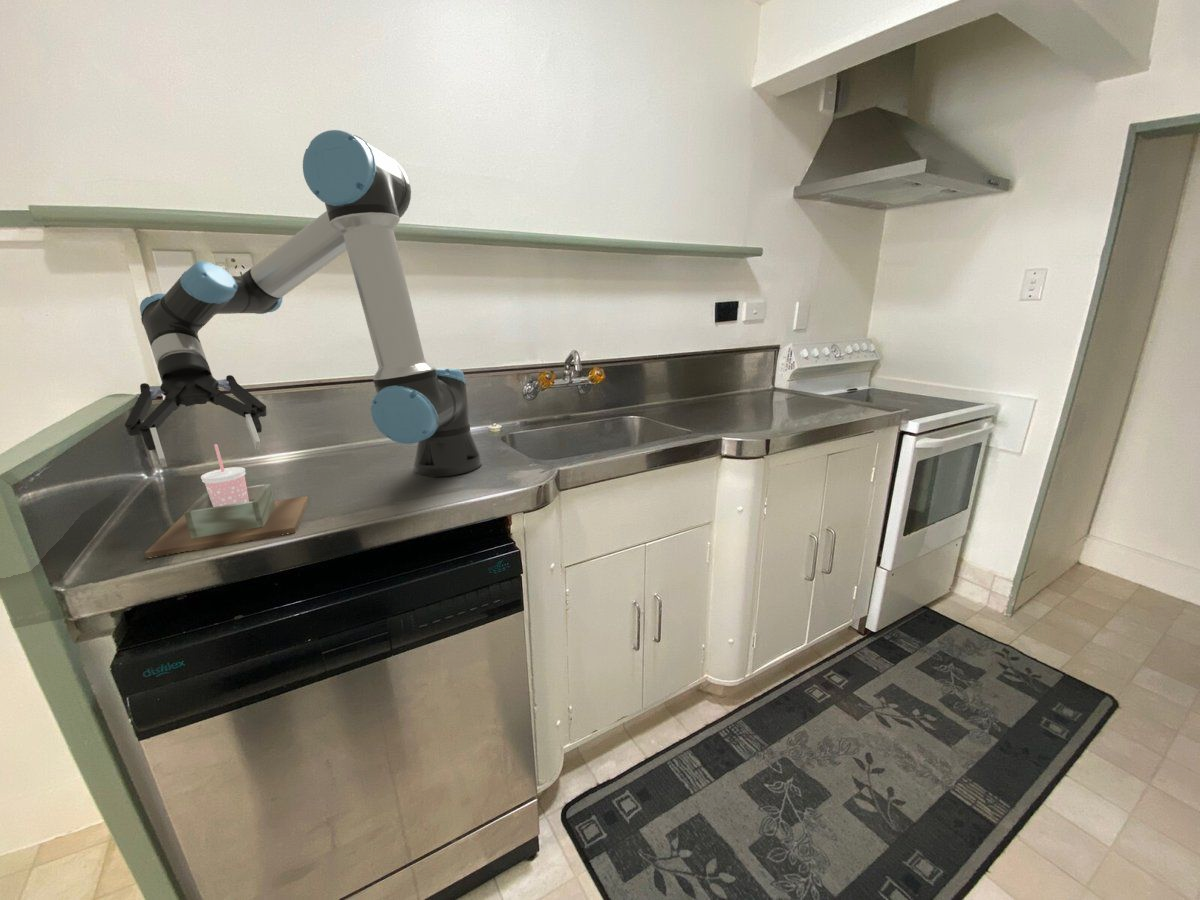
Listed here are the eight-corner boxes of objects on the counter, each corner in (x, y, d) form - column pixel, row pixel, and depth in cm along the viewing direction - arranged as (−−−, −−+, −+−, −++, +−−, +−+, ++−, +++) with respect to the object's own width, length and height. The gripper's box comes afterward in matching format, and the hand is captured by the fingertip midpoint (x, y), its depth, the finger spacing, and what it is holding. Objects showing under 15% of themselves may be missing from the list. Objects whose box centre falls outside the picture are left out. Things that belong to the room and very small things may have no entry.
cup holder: (308, 500, 96) (302, 474, 95) (295, 532, 82) (288, 502, 81) (184, 520, 89) (176, 492, 88) (146, 559, 75) (135, 526, 73)
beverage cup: (221, 517, 87) (200, 442, 83) (261, 511, 89) (242, 437, 85) (208, 531, 82) (186, 451, 78) (251, 524, 84) (231, 446, 80)
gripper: (260, 369, 104) (292, 450, 98) (96, 384, 87) (122, 482, 81) (259, 345, 99) (293, 428, 92) (84, 356, 82) (111, 458, 76)
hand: (213, 454), depth 87 cm, fingers open, 13 cm apart
